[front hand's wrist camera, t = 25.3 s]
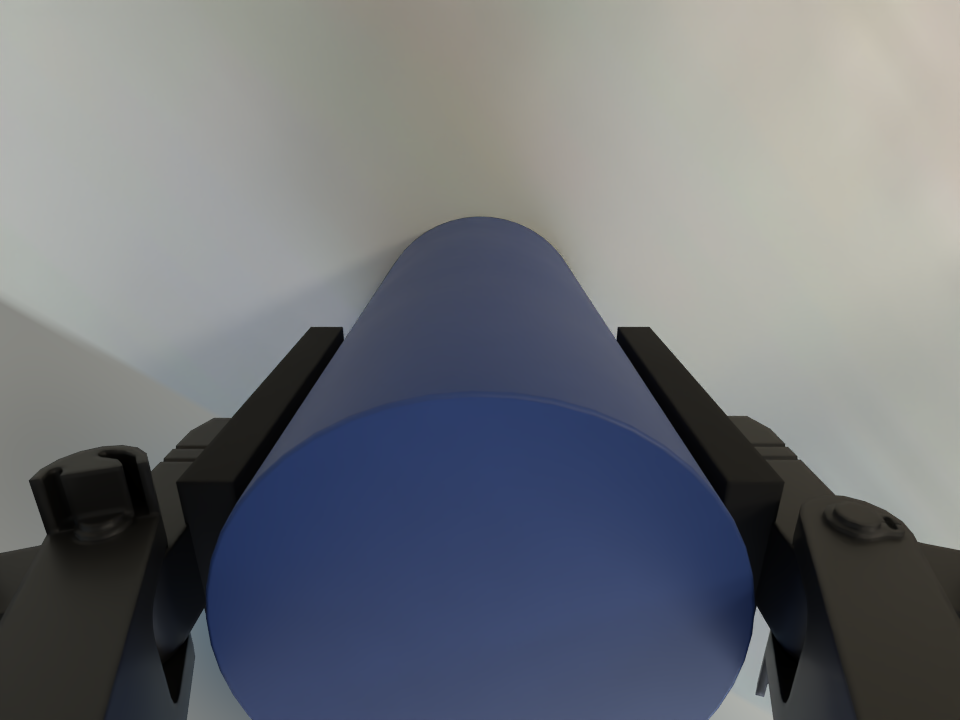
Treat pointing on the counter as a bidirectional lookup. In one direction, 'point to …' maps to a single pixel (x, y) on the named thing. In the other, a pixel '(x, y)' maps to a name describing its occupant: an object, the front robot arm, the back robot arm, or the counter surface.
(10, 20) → the counter surface
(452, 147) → the counter surface
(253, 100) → the counter surface
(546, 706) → the can
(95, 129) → the counter surface
